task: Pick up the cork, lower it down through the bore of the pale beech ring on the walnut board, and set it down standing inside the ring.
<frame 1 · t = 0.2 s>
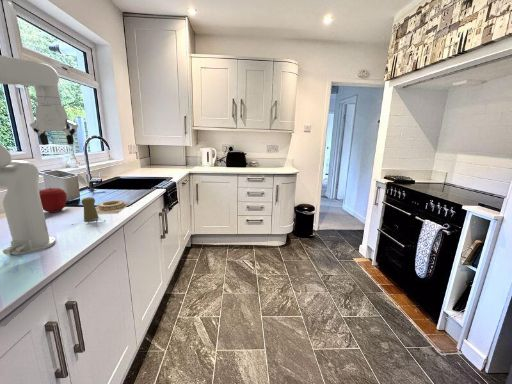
hand: (58, 144, 101), 36 cm above the counter, tool pointing down, fingers open, 9 cm apart
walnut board: (109, 209, 128), on the counter
cork: (91, 220, 114), on the counter
apple: (55, 211, 125), on the counter
beech ring: (111, 206, 131), resting on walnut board
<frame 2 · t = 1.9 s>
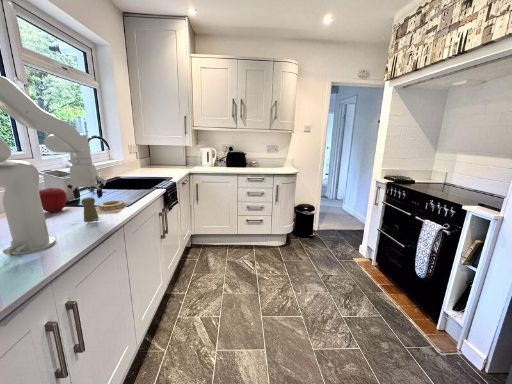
hand: (89, 197, 112), 11 cm above the counter, tool pointing down, fingers open, 9 cm apart
nothing on the counter moved.
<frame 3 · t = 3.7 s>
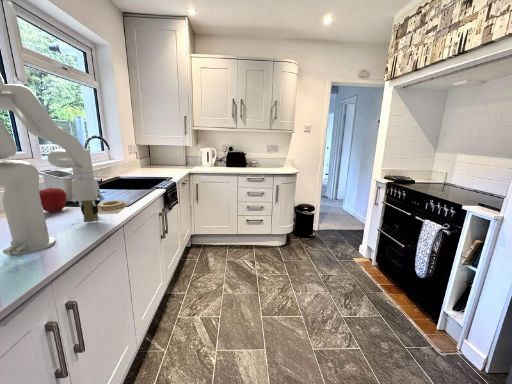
hand: (90, 213, 113), 3 cm above the counter, tool pointing down, fingers closed on cork, 4 cm apart
cork: (91, 220, 114), on the counter, touching gripper
everything else where it was.
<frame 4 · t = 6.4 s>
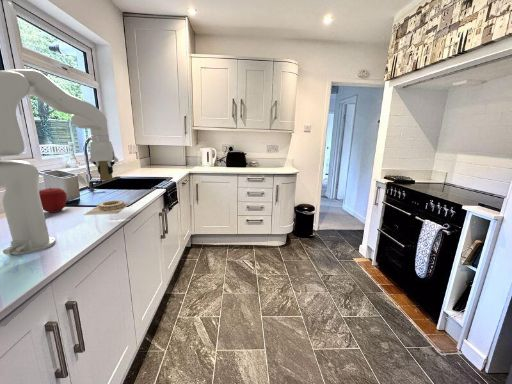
hand: (105, 173, 126), 20 cm above the counter, tool pointing down, fingers closed on cork, 4 cm apart
cork: (106, 180, 127), point 16 cm above the counter, touching gripper
everything else where it was.
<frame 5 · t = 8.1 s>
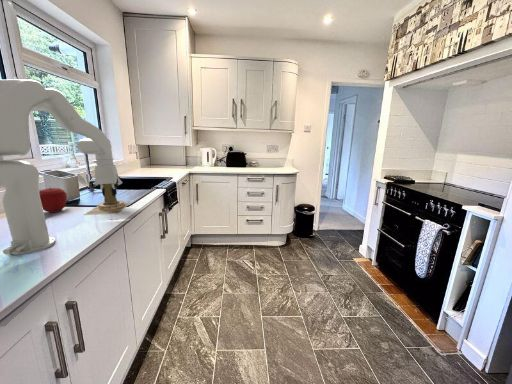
hand: (110, 195, 129), 7 cm above the counter, tool pointing down, fingers closed on cork, 4 cm apart
cork: (110, 201, 130), point 4 cm above the counter, touching gripper
everything else where it was.
when the fingers open (5 cm above the counter, at t = 9.3 s): cork stays where it is, resting on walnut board.
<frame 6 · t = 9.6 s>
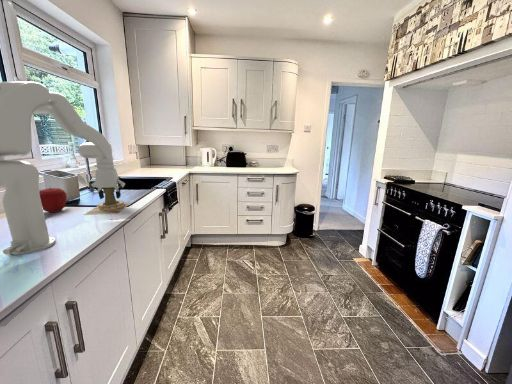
hand: (110, 198, 130), 6 cm above the counter, tool pointing down, fingers open, 7 cm apart
cork: (111, 206, 131), point 1 cm above the counter, touching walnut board
everything else where it was.
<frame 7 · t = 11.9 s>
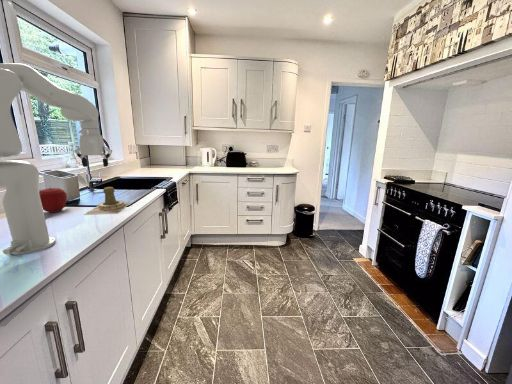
hand: (95, 166, 122), 24 cm above the counter, tool pointing down, fingers open, 9 cm apart
nothing on the counter moved.
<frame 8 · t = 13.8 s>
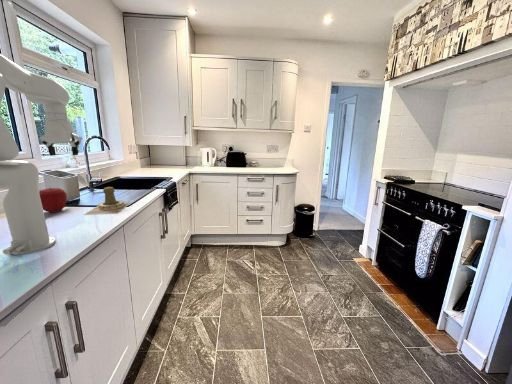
hand: (64, 155, 112), 30 cm above the counter, tool pointing down, fingers open, 9 cm apart
nothing on the counter moved.
at the end: cork 0.3 cm from the beech ring (horizontally); cork tilted 0°; cork point 0.8 cm above the counter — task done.
